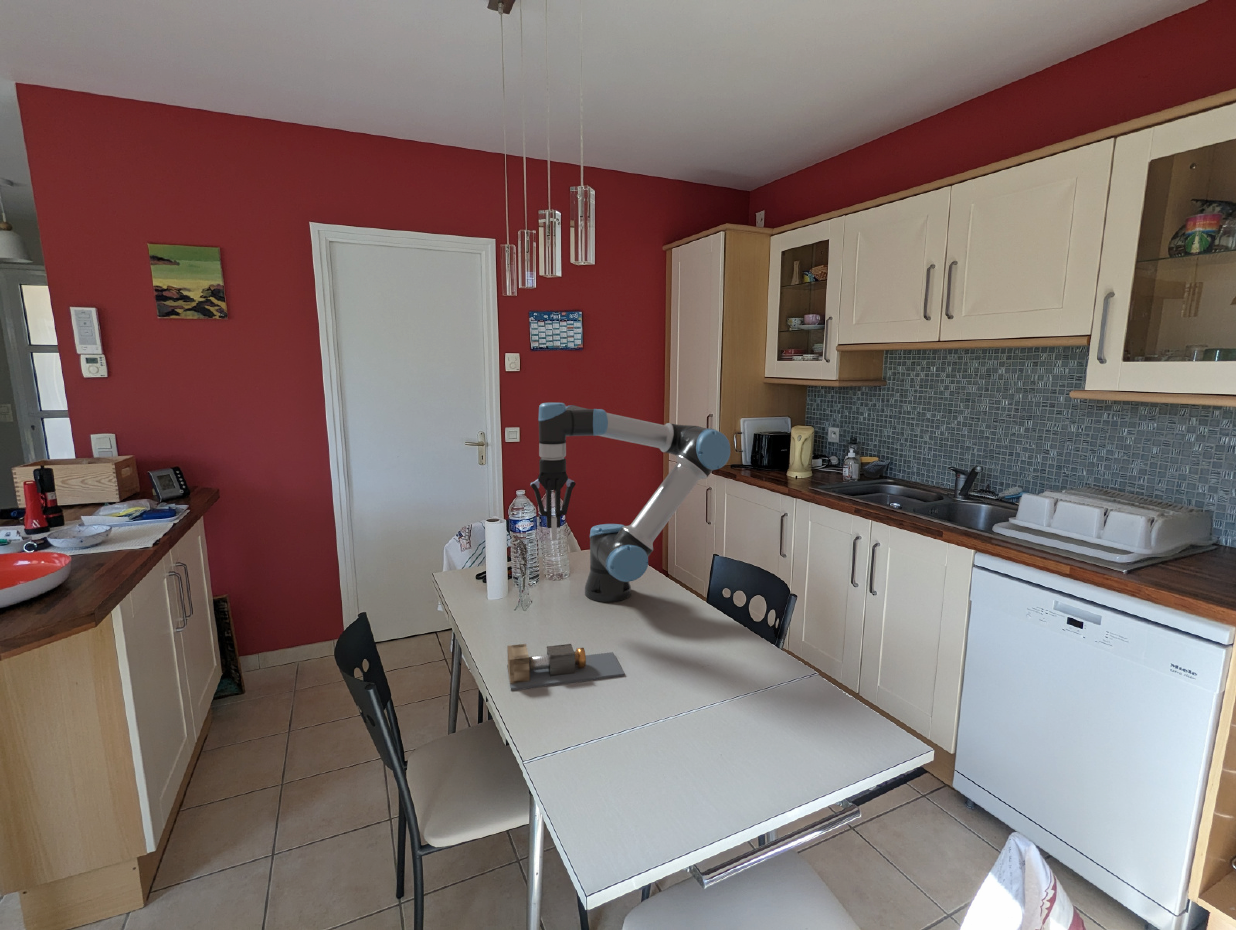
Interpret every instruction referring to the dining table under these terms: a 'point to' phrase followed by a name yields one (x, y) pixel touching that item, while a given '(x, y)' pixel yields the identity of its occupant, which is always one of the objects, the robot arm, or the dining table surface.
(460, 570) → the dining table surface
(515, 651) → the socket block
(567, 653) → the sleeve
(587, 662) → the base mat
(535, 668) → the sliding bolt
